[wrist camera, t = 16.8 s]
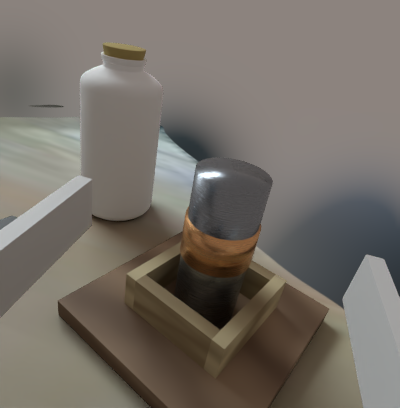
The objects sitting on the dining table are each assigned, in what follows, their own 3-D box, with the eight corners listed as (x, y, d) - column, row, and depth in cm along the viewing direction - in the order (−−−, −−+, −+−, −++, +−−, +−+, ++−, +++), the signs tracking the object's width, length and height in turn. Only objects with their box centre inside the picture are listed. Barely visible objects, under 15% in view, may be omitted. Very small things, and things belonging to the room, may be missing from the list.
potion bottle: (121, 234, 37) (132, 56, 28) (65, 206, 39) (58, 37, 31) (163, 205, 43) (183, 54, 35) (112, 183, 46) (118, 39, 37)
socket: (224, 479, 19) (242, 437, 17) (58, 314, 26) (55, 270, 24) (323, 320, 30) (341, 283, 28) (188, 237, 38) (195, 203, 36)
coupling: (209, 345, 24) (247, 202, 18) (157, 304, 27) (176, 167, 21) (246, 306, 28) (288, 178, 22) (198, 274, 31) (223, 151, 25)
